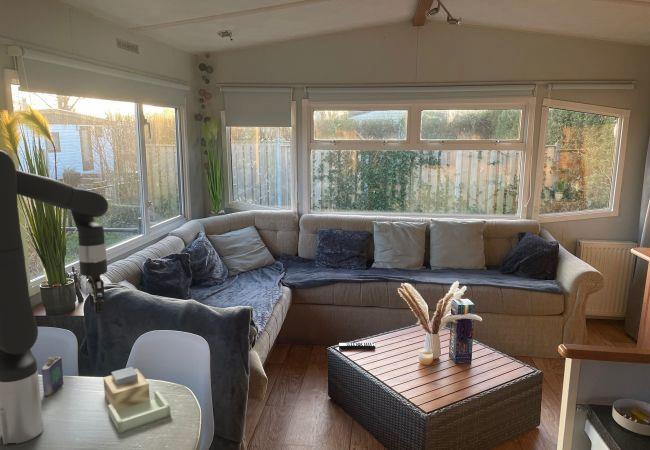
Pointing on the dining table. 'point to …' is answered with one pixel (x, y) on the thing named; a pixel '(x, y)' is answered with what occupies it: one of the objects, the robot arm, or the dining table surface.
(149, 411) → the tray
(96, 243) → the robot arm
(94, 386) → the dining table surface
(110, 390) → the cardboard box
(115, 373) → the tile
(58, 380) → the flask
